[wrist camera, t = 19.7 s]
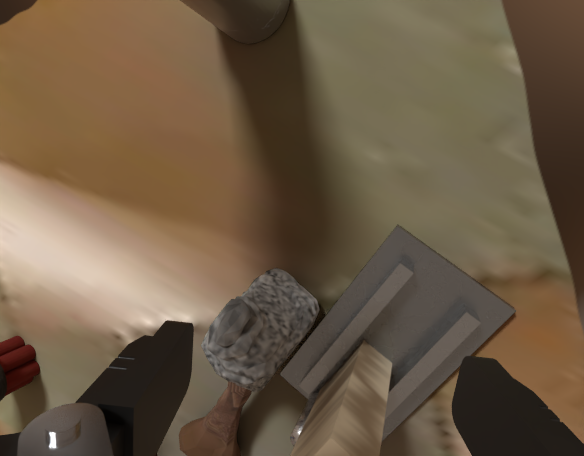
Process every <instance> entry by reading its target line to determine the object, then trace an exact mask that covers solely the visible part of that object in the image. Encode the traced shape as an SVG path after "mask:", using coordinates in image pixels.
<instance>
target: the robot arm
mask: <svg viewBox="0 0 584 456" xmlns="http://www.w3.org/2000/svg"><path fill="white" fill-rule="evenodd" d="M180 1H182V2H183V3H184V4H186V5H187V6H189V7H190V8H191V9H193V10H194V11H195V12H197V13H198V14H200V15H201V16H202V17H204V18H205V19H206V20H208V21H209V22H211V23H212V24H213V25H214V26H216V27H217V28H219V29H220V30H221V31H223V32H224V33H226V34H227V35H228V36H230V37H231V38H233V39H234V40H236V41H238V42H241V43H248V44H251V43H257V42H260V41H262V40H264V39H266V38H267V37H269V36H270V35H272V34H273V33H274V32H275V31H276V30H277V29H278V27H279V26H280V24H281V23H282V21H283V20H284V18H285V15H286V13H287V11H288V6H289V2H290V0H180ZM193 332H194V329H193V324H192V323H185V322H177V321H168V320H167V321H165V322H164V324H163V325H162V326H161V327H160V328H159V330H158V331H157V332H156V333H155V335H154V336H146V335H144V336H143V337H141V338H139V339H137V340H135V341H134V342H132V343H130V344H128V345H127V347H126V348H125V349H124V350H123V351H122V352H121V353H120V354H119V355H118V358H116V359H115V360H114V361H113V362H112V363H111V364H110V365H109V368H106V370H105V371H104V372H103V373H102V374H101V375H100V376H99V377H98V378H97V379H96V381H95V382H94V383H93V384H92V385H91V386H90V387H89V388H88V389H87V390H86V391H85V393H84V394H83V395H82V396H81V397H80V398H79V399H78V400H77V401H76V402H75V403H71V404H66V405H61V406H58V407H55V408H53V409H50V410H48V411H46V412H44V413H42V414H41V415H39V416H38V417H36V418H35V419H33V420H32V421H31V422H30V423H29V424H28V425H27V426H26V427H25V428H24V429H23V431H22V432H21V433H15V434H8V435H0V456H156V453H157V451H158V449H159V447H160V445H161V443H162V441H163V439H164V437H165V435H166V433H167V431H168V429H169V427H170V425H171V423H172V421H173V419H174V417H175V415H176V413H177V411H178V409H179V407H180V405H181V402H182V400H183V398H184V396H185V394H186V392H187V389H188V386H189V382H190V378H191V371H192V352H193ZM452 416H453V420H454V423H455V426H456V428H457V429H458V431H459V433H460V435H461V437H462V438H463V440H464V442H465V444H466V446H467V447H468V449H469V451H470V453H471V455H472V456H584V444H583V443H582V442H581V441H580V440H579V439H578V438H577V437H576V436H575V435H574V434H573V432H572V431H571V430H570V429H569V428H568V427H567V426H566V425H565V424H564V423H563V422H560V419H559V418H558V417H557V416H556V415H555V414H554V413H553V412H552V411H551V410H550V409H548V406H547V405H546V404H545V403H544V402H543V401H542V400H541V399H540V398H539V397H538V396H537V395H536V394H535V393H534V392H533V391H532V390H530V389H529V388H527V387H526V386H524V385H523V384H521V383H520V382H518V381H517V380H516V379H513V378H512V376H511V375H510V374H509V373H508V372H507V371H506V370H505V369H504V368H503V367H502V366H501V365H500V363H499V362H498V361H497V360H495V359H492V358H483V357H475V356H465V357H464V358H463V360H462V363H461V367H460V371H459V375H458V379H457V384H456V388H455V392H454V396H453V401H452Z"/></svg>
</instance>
